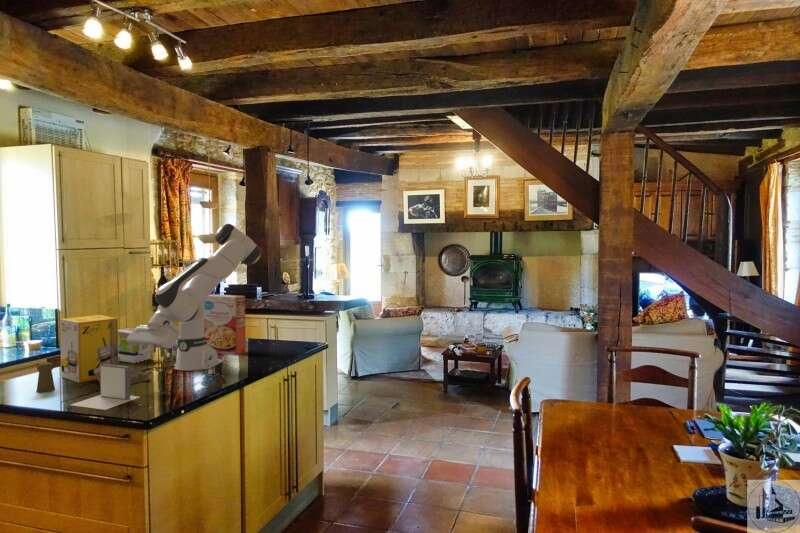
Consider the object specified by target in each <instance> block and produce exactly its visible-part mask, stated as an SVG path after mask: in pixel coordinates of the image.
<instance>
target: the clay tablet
mask: <svg viewBox="0 0 800 533" xmlns="http://www.w3.org/2000/svg"><path fill="white" fill-rule="evenodd" d="M149 380H150V375H149V373H147V372H143V371H136V370H131V369H130V385H133V384H136V383H143V382H147V381H149ZM96 381H98V382H99V383H100V374H99V376H98V377H97V379H96Z"/></svg>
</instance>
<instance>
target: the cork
mask: <svg viewBox="0 0 800 533" xmlns="http://www.w3.org/2000/svg"><path fill="white" fill-rule="evenodd" d="M36 369H37V372H38V375H37V376H38V379H37V385H36V393H37V394H38V393H39V394H44V393H46V394H47V393H50V392H53V391H56V389H55V388H56V387H55V382H54V377H53V370H54V364H53V362H47V361H44V362H41V363H38V364H37V367H36Z"/></svg>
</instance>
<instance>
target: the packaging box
mask: <svg viewBox="0 0 800 533" xmlns="http://www.w3.org/2000/svg"><path fill="white" fill-rule="evenodd" d="M118 330H119V318H117V317H112V316H107V315H102V314H97V315H87V316H79V317H78V316H77V317H67V318H60V319H59V335H60V337H59V338H60V339H59V340H60V342H59V343H60V344H59V345H60V376H61V378H64V379H67V380H70V381H73V382H76V383H77V384H78V383H85V382H90V381H95V380H96V381H97V377H98V376H99V374H100V365H102V364H111V365H120V364H119V362H120V361H119V354H118Z"/></svg>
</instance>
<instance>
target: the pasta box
mask: <svg viewBox="0 0 800 533" xmlns="http://www.w3.org/2000/svg"><path fill="white" fill-rule="evenodd" d="M204 336H205V337H206V336H210V337H211V338H210V340H209V341H208V340H206V341H207V344H208V345H209V346H210V347H212V348H213V349H215V350H216V353H217V354H218V353H220V355H229V354H231V356H238V355H240V354H244V353H246V296H245V295H235V294H233V295H232V294H217V293H216V294H211V293H210V294H209V296H208V297H207V298H206V299H205V314H204ZM243 352H244V353H243ZM237 354H238V355H237Z"/></svg>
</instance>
